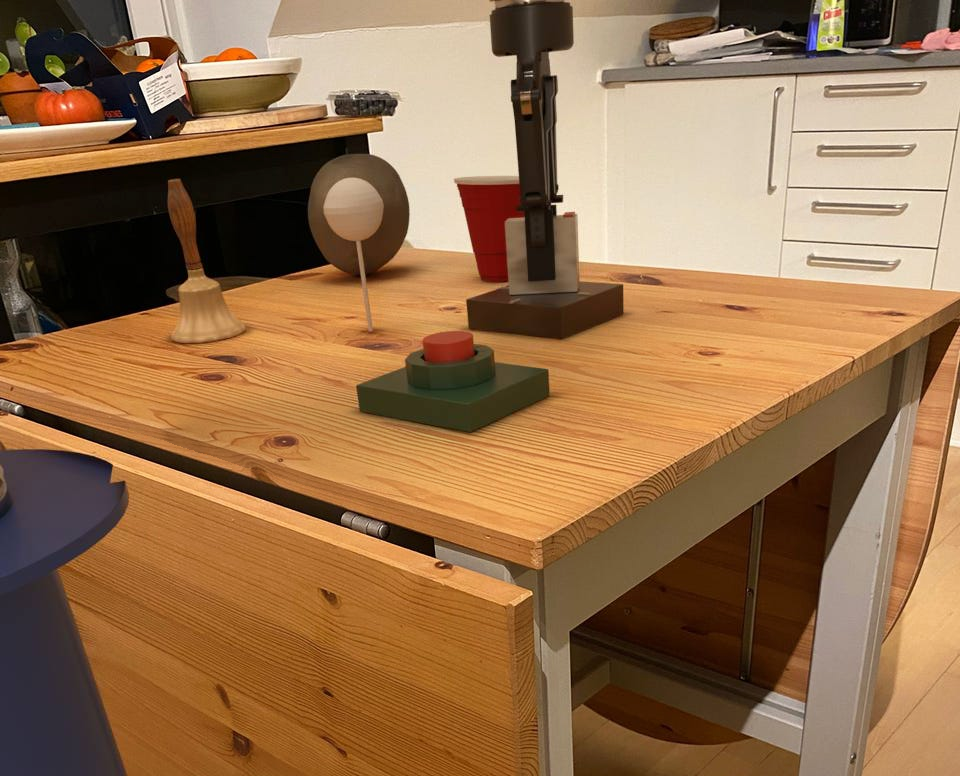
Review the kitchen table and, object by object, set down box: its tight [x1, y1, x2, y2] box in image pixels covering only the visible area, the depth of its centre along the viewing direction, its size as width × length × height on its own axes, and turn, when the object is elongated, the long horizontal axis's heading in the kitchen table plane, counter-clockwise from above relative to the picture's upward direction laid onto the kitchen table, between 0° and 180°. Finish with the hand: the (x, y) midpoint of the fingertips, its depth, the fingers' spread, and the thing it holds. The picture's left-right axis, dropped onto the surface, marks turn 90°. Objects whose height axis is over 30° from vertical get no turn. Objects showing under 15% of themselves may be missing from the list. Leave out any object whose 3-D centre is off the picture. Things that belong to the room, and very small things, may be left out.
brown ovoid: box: [307, 153, 411, 276], centre depth 131 cm, size 14×14×15 cm
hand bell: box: [167, 178, 247, 344], centre depth 107 cm, size 8×8×16 cm
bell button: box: [422, 330, 475, 363], centre depth 78 cm, size 4×4×2 cm
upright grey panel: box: [505, 211, 581, 295], centre depth 99 cm, size 7×2×7 cm, turn 79°
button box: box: [355, 343, 551, 433], centre depth 79 cm, size 12×10×4 cm
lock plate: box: [465, 280, 625, 340], centre depth 101 cm, size 12×11×3 cm
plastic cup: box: [453, 175, 525, 283], centre depth 122 cm, size 11×11×12 cm
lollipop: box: [324, 178, 384, 333], centre depth 101 cm, size 6×6×15 cm
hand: (543, 276), depth 100 cm, fingers closed on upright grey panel, 2 cm apart
